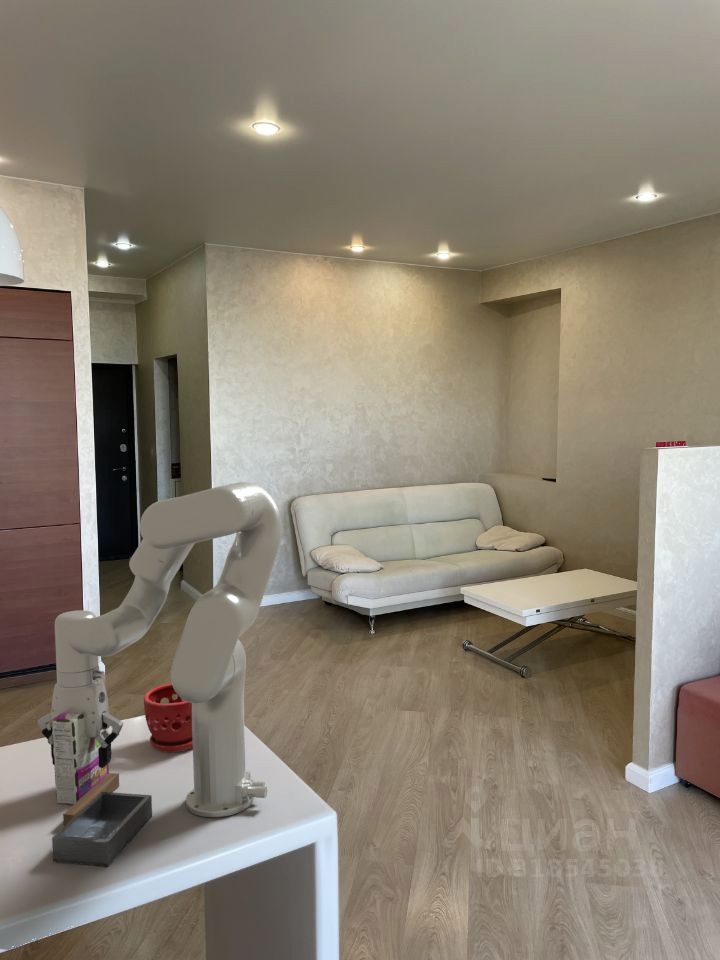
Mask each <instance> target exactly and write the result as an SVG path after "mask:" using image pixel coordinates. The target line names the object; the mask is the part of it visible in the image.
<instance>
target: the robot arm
mask: <svg viewBox="0 0 720 960" xmlns="http://www.w3.org/2000/svg"><path fill="white" fill-rule="evenodd" d="M282 521H283V520H282V517H281V513H280V510H279V507H278V505H277V503H276V501H275V500H274V499H273V497H272V496H271V495H270V493H269V492H268V491H266V490H265V489H264V488H263V487H262V486H259V485H257V484H255V483H251V482H246V481H239V482H233V483H229V484H225V485H224V484H223V485H221V486H216V487H212V488H208V489H205V490H200V491H196V492H193V493H189V494H185V495H181V496H178V497H177V496H176V497H173V498H167V499H163V500H159V501H158V500H157V501H156V502H154V503H152V504H151V505H149V506H148V507H147V508H146V509H145V510H144V512H143V513H142V515H141V518H140V521H139V530H140V531H139V532H140V535H141V537H142V539H141V542H140V543H139V545H138V547H137V548H136V549H135V551H134V553H133V555H132V556H131V557H130V559H129V563H128V564H129V569H130V571H131V572H132V574H133V575H134V581H133V583H132V585H131V587H130V590H129V591H128V593H126V596H125V598H124V599H123V600H122V602H121V604H120V605H119V607H117V608H114V609H112V610H111V611H108V612H106V613H104V614H102V615H99V616H96V615H95V613H94V612H93V611H89V610H86V609H85V610H84V609H83V610H82V609H81V610H80V609H79V610H72V611H71V610H70V611H66V612H63V613H61V614H59V615H57V617H56V618H55V621H54V639H55V641H54V642H55V643H54V644H55V660H56V661H55V662H56V663H55V665H56V666H55V667H56V683H55V684H54V687H53V692H52V699H51V711H50V713H48V714H45V715H44V716H42V717H40V718H39V719H37V724H38V726H39V729H40V730H41V734H42V735H43V736H44V737H45V738H46V739H47V743H48V744H49V745H50V749H51V750H50V754H51V759H52V765H53V766H54V752H53V736H52V725H51V726H50V721H51V720H52V719H54V718H55V717H57V716H58V715H60V714H62V713H69V714H83V715H84V724H85V732H86V737H89V738H93V737H94V738H95V739H96V740H97V741H98V743H99V744H100V745H101V747H99V749H98V755H99V767H100V768H104V767H105V766H106V765H107V764H108V765H109V764H110V762H111V760H112V743H114V741H115V740H116V738H117V737H118V736H119V735H120V732H121V731H122V730H123V729H122V728H123V726H124V722H123V721H121V720H120V719H118V718H116V717H115V716H113V715H111V714H110V706H109V705H110V704H109V699H108V695H107V694H108V693H107V689H106V685H105V682H104V681H103V679H104V678H105V671H103V670H102V671H101V670H100V665H99V657H103V658H104V657H111V656H115V655H116V654H118V653H119V652H121V651H124V649H126V648H128V647H130V646H131V645H133V644H134V643H136V642H137V641H139V640H141V639H142V638H143V637H144V636H145V635H146V634H147V632H148V631H149V629H150V628H151V626H152V624H153V623H154V621H155V620H156V619H157V617H158V615H159V614H160V612H161V610H162V609H163V607H164V605H165V603H166V601H167V598H168V593H169V591H170V587H171V583H172V581H173V579H174V578H175V576H176V574H177V573H178V572H179V570H180V568H181V566H182V565H183V564H184V561H185V559H186V558H187V557H188V555H189V553H190V552H191V550H192V548H193V547H194V546H195V544H197V543H198V544H199V543H201V542H205V541H210V540H215V539H219V538H223V537H226V536H231V535H234V534H235V538H234V541H233V543H232V545H231V547H230V548H229V551H228V553H227V556H226V558H225V562H224V566H223V569H222V571H221V574H220V577H219V579H218V581H217V583H216V585H215V586H213V588H211V589H210V590H208V591H206V592H205V593H203V594H202V595H201V596H199V598H198V599H197V600H196V601H195V603H194V604H193V606H192V607H191V610H190V611H189V613H188V616H187V619H186V622H185V624H184V628H183V630H182V633H181V636H180V639H179V642H178V644H177V648H176V651H175V654H174V657H173V660H172V663H171V668H170V680H171V684H172V685H173V688H174V690H175V692H176V693H177V694H178V696H179V697H180V698H181V699H182V700H183V701H187V702H190V703H192V738H193V748H192V762H193V765H192V767H193V787H194V788H192V789H191V790H190V791H189V792H188V793H187V795H186V797H185V805H186V808H187V809H188V811H189V812H191V813H192V814H193V815H196V816H200V817H205V818H223V817H228V816H229V817H230V816H232V815H236V814H238V813H240V812H243V811H244V810H246V809H248V808H249V807H250V806H251V805H252V804H253V802H254V801H255V798H256V799H257V798H258V799H266V798H267V796H268V787H267V786H265V784H266V782H265V781H254V780H253V779H252V778H251V772H250V771H246V750H245V749H246V745H245V744H246V743H245V684H246V673H247V654H246V651H245V647H244V646H243V643H242V642H241V640H240V639H239V638H240V637H241V635H242V634H244V633H245V632H247V630H248V629H249V628H250V627H252V626H253V624H254V623H255V621H256V619H257V618H258V615H259V611H260V608H261V605H262V601H263V599H264V597H265V596H264V595H265V593H266V589H267V587H268V584H269V581H270V577H271V573H272V571H273V568H274V565H275V561H276V559H277V556H278V552H279V549H280V546H281V540H282V534H283V522H282ZM177 694H176V695H177ZM178 696H177V697H178ZM51 724H52V721H51ZM110 727H111V729H112V730H111V732H110V731H109V730H108V729H109V728H110ZM101 734H102V735H101Z"/></svg>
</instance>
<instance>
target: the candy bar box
mask: <svg viewBox="0 0 720 960" xmlns="http://www.w3.org/2000/svg"><path fill="white" fill-rule="evenodd" d="M50 721H52V723H51V727H52V736H53V752H54V765H53V766H54V767H53V768H54V769H53V770H54V779H55V780H54V781H55V782H54V783H55V799H56V804H57V805H71V806H73V805H74V804H75V803H76V802H77V801H78V800H80V799H81V798H82V797H83V796H84V795H85V794H86V793H87V792H89V791H90V790H91V789H92V788H93V787H94V786H95V785H96V784H98V783H99V782H100V781H101V780H102V779H103V778H104V777H105V776H106V775H108V774H109V773H110V768H109V763H108V764H107V765H106V766H105V767H104V768H100V767H99V755H98V749H99V747H101V745H100V744H99V743H98V741H97V740H96V739H95V738H94V737H93V738H89V737H86V732H85V724H84V715H83V714H69V713H62V714H60V715H58V716H57V717H55V718H54V719H52V720H50ZM101 735H102V734H101Z"/></svg>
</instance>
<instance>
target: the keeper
mask: <svg viewBox="0 0 720 960" xmlns="http://www.w3.org/2000/svg"><path fill="white" fill-rule="evenodd" d="M152 797H153V796H152V794H151V795H150V794H137V793H127V792H126V793H125V792H124V793H123V792H115V791H113V792H101V793H100V794H99V795H98V796H97V797H96V798H95V799H94V800H93V801H91V802H90V803H89V804H88V805H87V806H86V807H85V808H84V809H83V810H82V811H81V812H80V813H78V814H77V815H76V816H75V817H74V818H73V819H72V820H71V821H70V822H69V823H68V824H67V825H65V826H64V825H63V827H62V828H61V829H60V830H59V831H58V832H57V833H56V834H55V835H54V836H52V837H51V841H52V842H51V843H52V860H53V861H52V862H54V863H59V864H60V863H63V864H71V863H72V864H73V865H82V864H84V866H95V867H104V868H105V867H106V868H107V867H108V866H109V867H110V865H112V863H113V862H114V861H115V860H116V859H117V857H118V856H119V855H120V854H121V853H122V852H123V851H124V849H125V848H126V847H127V846H128V845H129V844H130V843H131V842H132V841H133V839H134V838H135V837H136V836H137V835H138V834H139V832H140V831H141V830H142V829H143V828H144V827H145V826H146V825H147V823H148V822H149V821H150V820H151V819H152V818H153V801H152V799H153V798H152Z"/></svg>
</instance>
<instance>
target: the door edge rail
mask: <svg viewBox="0 0 720 960" xmlns="http://www.w3.org/2000/svg"><path fill="white" fill-rule="evenodd" d="M119 787H120V774H119V772H118V773H115V772H109V774H108V775H106V776H105V777H104V778H103V779H102V780H101V781H100V782H99V783H98V784H96V785H95V786H94V787H93V788H92V789H91V790H90V791H89V792H87V793H86V794H85V795H84V796H83V797H82V798H81V799H80V800H78V801H77V802H76V803H75V804H74V805H71V806H70V808H68V809H67V810H66V811H65V812H64V813H63V815H62V818H63V819H62V820H63V821H62V823H63V827H64V826H65V825H67V824H68V823H69V822H70V821H71V820H72V819H73V818H74V817H75V816H76V815H77V814H78V813H80V812H81V811H82V810H83V809H84V808H85V807H86V806H87V805H88V804H89V803H90V802H91V801H93V800H94V799H95V798H96V797H97V796H98V795H99V794H100V793H101V792H115V790H117V789H118V788H119Z"/></svg>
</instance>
